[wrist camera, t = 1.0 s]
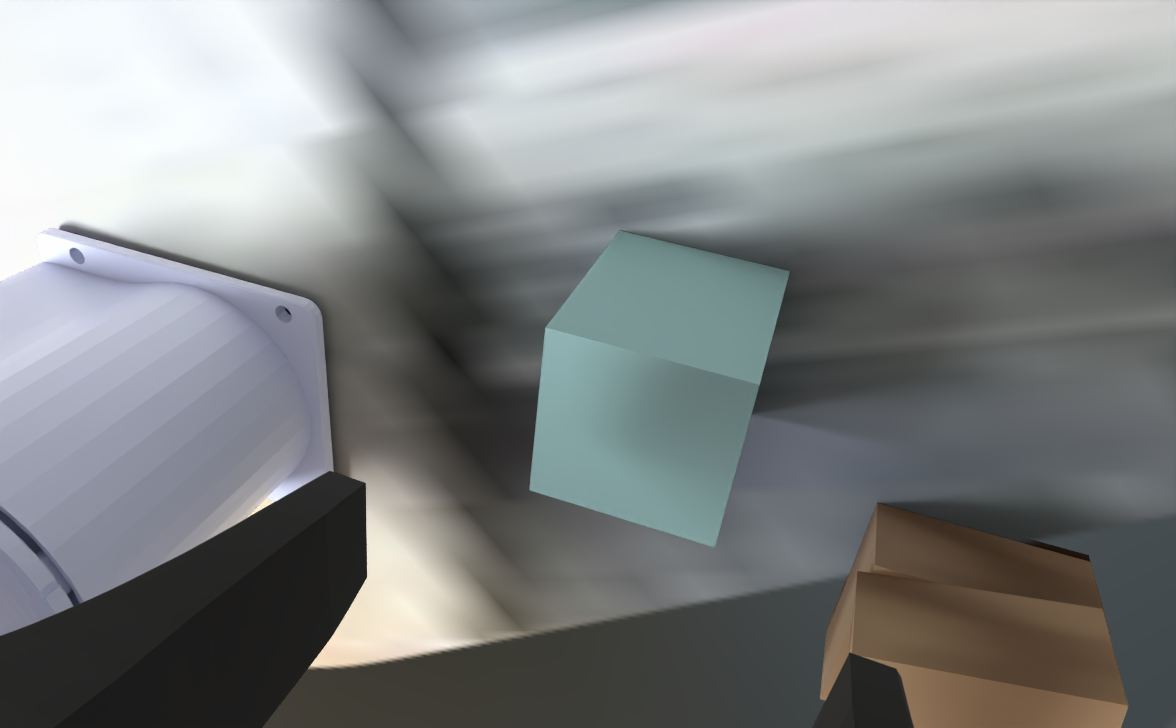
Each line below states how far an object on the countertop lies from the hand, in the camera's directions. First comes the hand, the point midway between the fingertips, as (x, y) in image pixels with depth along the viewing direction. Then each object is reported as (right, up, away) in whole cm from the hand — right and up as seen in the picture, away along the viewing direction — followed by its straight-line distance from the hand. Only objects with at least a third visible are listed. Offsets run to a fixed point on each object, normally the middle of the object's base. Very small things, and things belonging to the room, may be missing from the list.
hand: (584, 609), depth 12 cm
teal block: (+3, +5, +8) cm, 10 cm away
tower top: (+9, -4, +8) cm, 12 cm away
